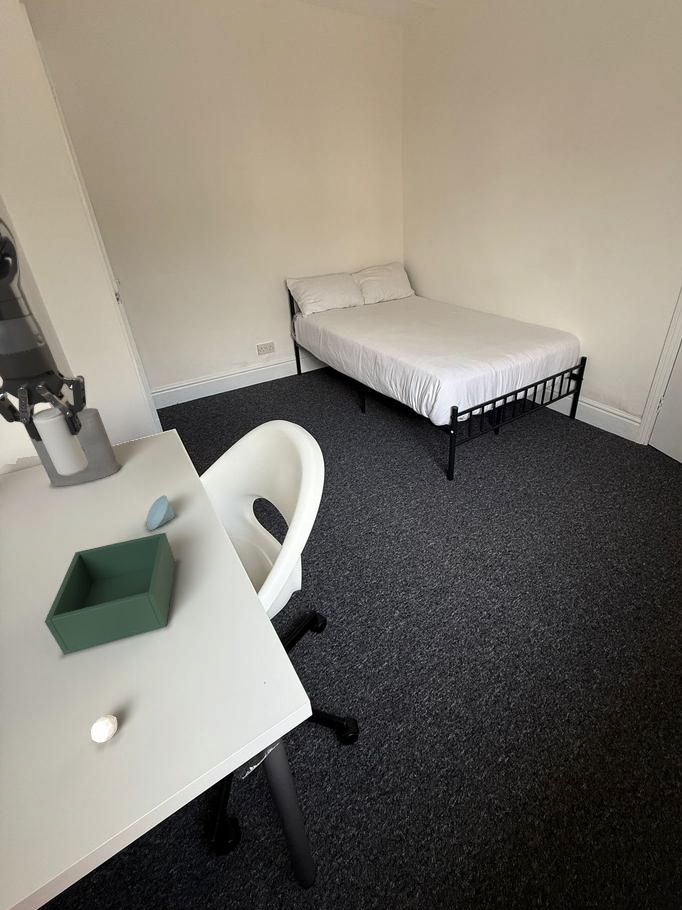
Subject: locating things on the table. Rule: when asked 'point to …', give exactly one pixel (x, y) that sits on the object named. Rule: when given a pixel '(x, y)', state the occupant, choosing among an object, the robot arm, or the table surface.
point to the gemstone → (159, 513)
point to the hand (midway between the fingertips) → (58, 435)
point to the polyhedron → (104, 728)
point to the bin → (113, 593)
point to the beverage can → (60, 442)
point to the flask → (93, 448)
